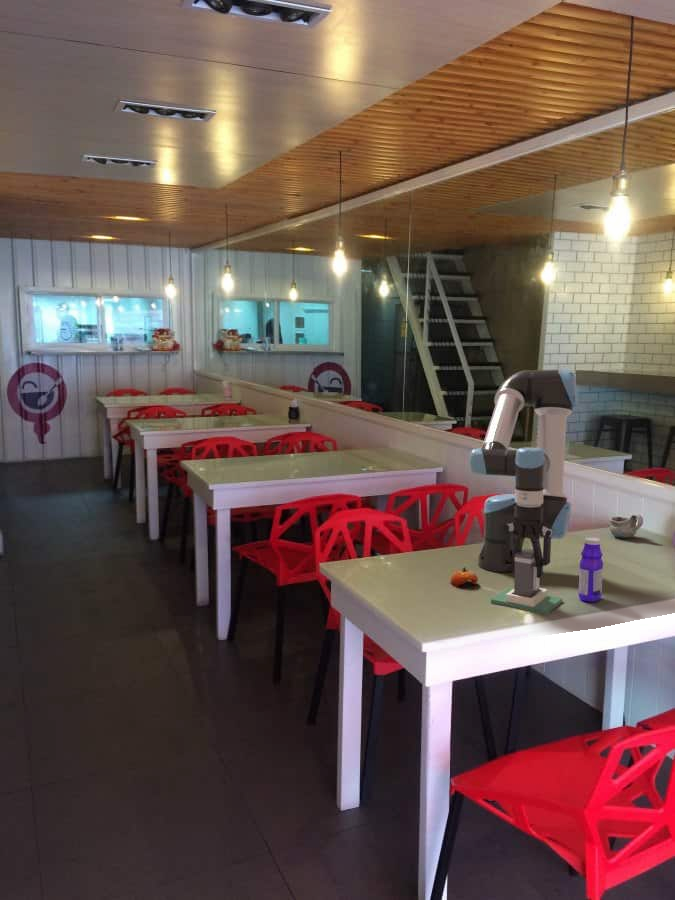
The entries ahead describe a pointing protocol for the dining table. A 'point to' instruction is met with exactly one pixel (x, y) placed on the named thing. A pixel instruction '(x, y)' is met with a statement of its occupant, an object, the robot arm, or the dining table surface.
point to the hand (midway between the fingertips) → (527, 586)
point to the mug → (625, 525)
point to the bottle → (591, 571)
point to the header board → (528, 601)
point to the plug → (524, 573)
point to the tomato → (463, 577)
